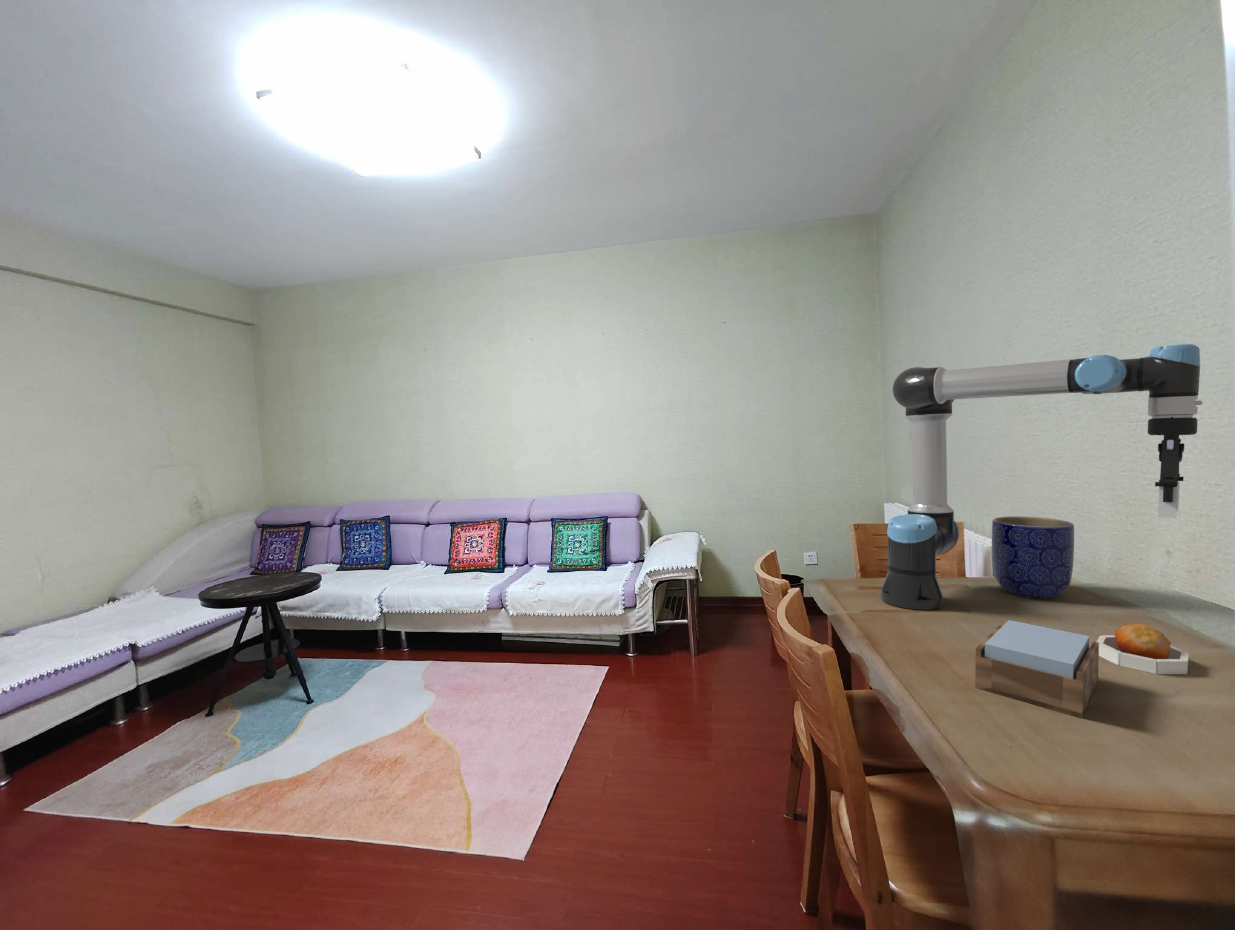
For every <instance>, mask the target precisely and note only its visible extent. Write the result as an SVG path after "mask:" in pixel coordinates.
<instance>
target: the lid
mask: <svg viewBox="0 0 1235 930" xmlns="http://www.w3.org/2000/svg"><path fill="white" fill-rule="evenodd" d="M1004 623H1005V624H1004V625H1003V626H1002V627H1001V628H1000V629H999V630H998V631H997V632H996V633H995V634H994V635H993V636H992V637H991V638H990V639H989V640H988V641H987V642H986V643H985V657H986V658H990V659H994V660H998V661H1002V662H1006V663H1010V664H1014V665H1018V666H1022V667H1026V668H1030V669H1034V670H1038V671H1042V672H1046V673H1050V674H1054V675H1058V676H1062V677H1066V678H1070V679H1073V678H1074V676H1075V674H1076V673H1077V671H1078V669H1079V667H1080V665H1081V663H1082V661H1083V659H1084V658H1085V656H1086V654H1087V652H1088V650H1089V648H1090V635H1085V634H1079V633H1074V632H1070V631H1066V630H1060V629H1055V628H1049V627H1045V626H1041V625H1034V624H1030V623H1026V622H1021V621H1020V622H1019V621H1014V620H1010V619H1008V620H1007V621H1006V622H1004Z"/></svg>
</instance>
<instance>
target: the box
mask: <svg viewBox="0 0 1235 930" xmlns="http://www.w3.org/2000/svg"><path fill="white" fill-rule="evenodd" d="M1005 623H1006V622H1000V624H999V625H998V626H996V628H995V629H994V630H993V631H992V632H990V634H988V636H986V637H985V638H984V639H983V640H982V641H981V642H980V643H979V644H978V645H977V646H976V647H975V669H974V670H975V672H974V673H975V674H974V675H975V676H974V677H975V680H974V681H975V683H974V685H975V688H976V689H979V690H983V691H986V692H989V693H993V694H996V695H1000V696H1004V697H1007V698H1010V699H1014V700H1018V701H1019V702H1023V703H1024V702H1025V703H1028V704H1031V705H1034V706H1037V707H1041V708H1044V709H1048V710H1052V711H1055V712H1059V713H1063V714H1066V715H1069V716H1073V717H1076V718H1080V719H1083V716H1084V715H1085V712H1086V710H1087V707H1088V705H1089V703H1090V701H1091V699H1092V697H1093V694H1094V692H1095V689H1096V688H1097V685H1098V683H1099V662H1100V661H1099V659H1100V658H1099V657H1100V656H1099V643H1098V642H1097V641H1092V643H1091V645H1090V646H1089V650H1088V652H1087V654H1086V656H1085V658H1084V659H1083V661H1082V663H1081V665H1080V667H1079V669H1078V671H1077V673H1076V674H1075V676H1074V678H1073V679H1070V678H1066V677H1062V676H1058V675H1054V674H1050V673H1046V672H1042V671H1038V670H1034V669H1030V668H1026V667H1022V666H1018V665H1014V664H1010V663H1006V662H1002V661H998V660H994V659H990V658H986V657H985V643H986V642H987V641H988V640H989V639H990V638H991V637H992V636H993V635H994V634H995V633H996V632H997V631H998V630H999V629H1000V628H1001V627H1002V626H1003V625H1004V624H1005Z"/></svg>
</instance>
